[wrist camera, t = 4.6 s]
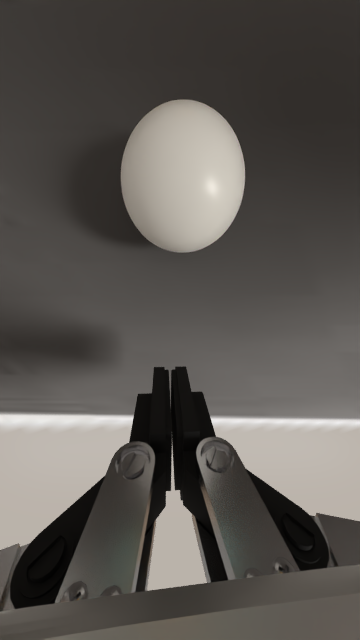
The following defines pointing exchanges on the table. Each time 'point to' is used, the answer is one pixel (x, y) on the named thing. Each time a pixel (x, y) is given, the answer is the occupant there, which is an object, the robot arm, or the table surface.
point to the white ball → (182, 176)
